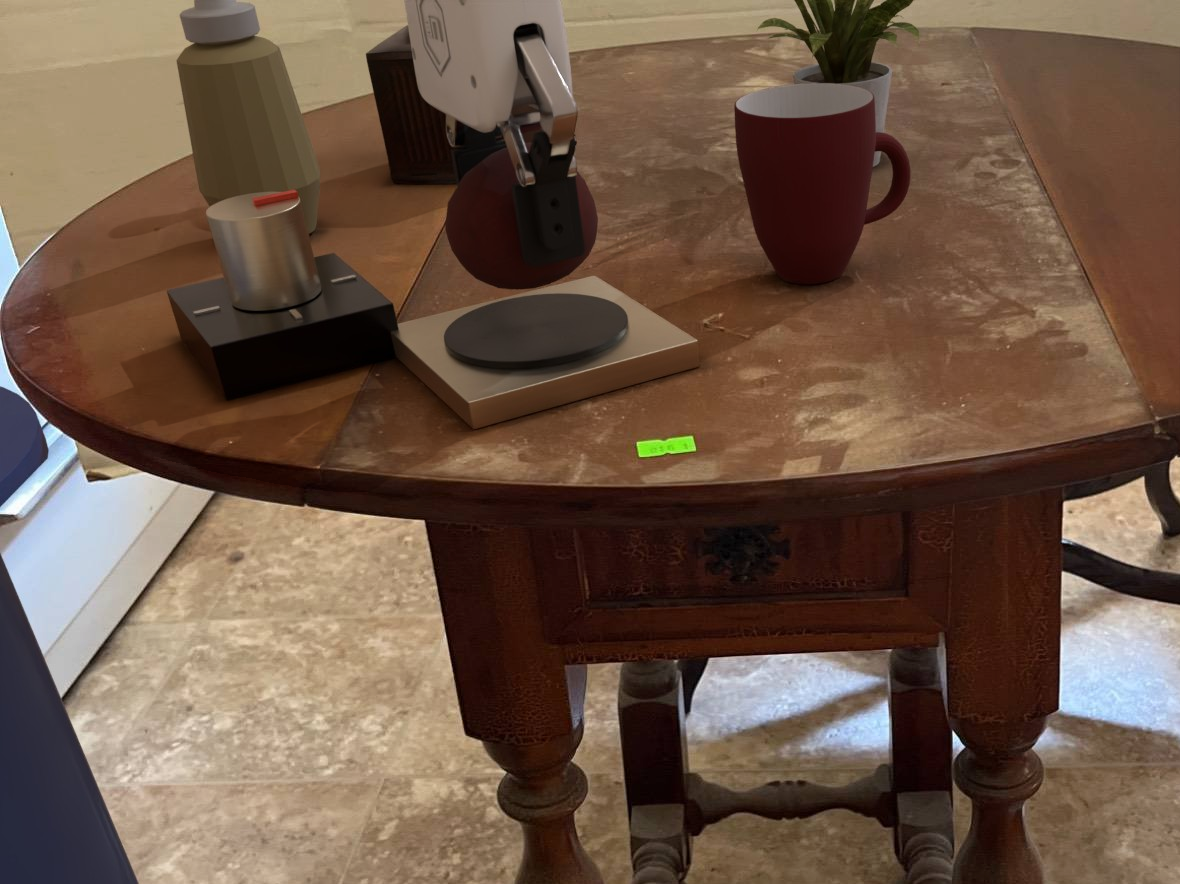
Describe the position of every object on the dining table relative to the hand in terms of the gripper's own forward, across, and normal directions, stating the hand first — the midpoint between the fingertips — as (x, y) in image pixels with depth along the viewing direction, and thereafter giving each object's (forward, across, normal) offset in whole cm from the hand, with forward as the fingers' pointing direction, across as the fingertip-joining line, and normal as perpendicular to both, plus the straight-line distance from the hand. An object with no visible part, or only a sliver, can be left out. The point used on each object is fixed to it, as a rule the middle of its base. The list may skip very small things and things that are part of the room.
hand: (522, 237), depth 77 cm
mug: (+7, -2, +20) cm, 21 cm away
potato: (+3, 0, 0) cm, 3 cm away
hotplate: (+7, 0, 0) cm, 7 cm away
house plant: (+7, -21, +32) cm, 39 cm away
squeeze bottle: (+7, -33, -6) cm, 34 cm away
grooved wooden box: (+7, -42, +10) cm, 44 cm away
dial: (+4, -11, -11) cm, 16 cm away
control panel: (+7, -11, -11) cm, 17 cm away
